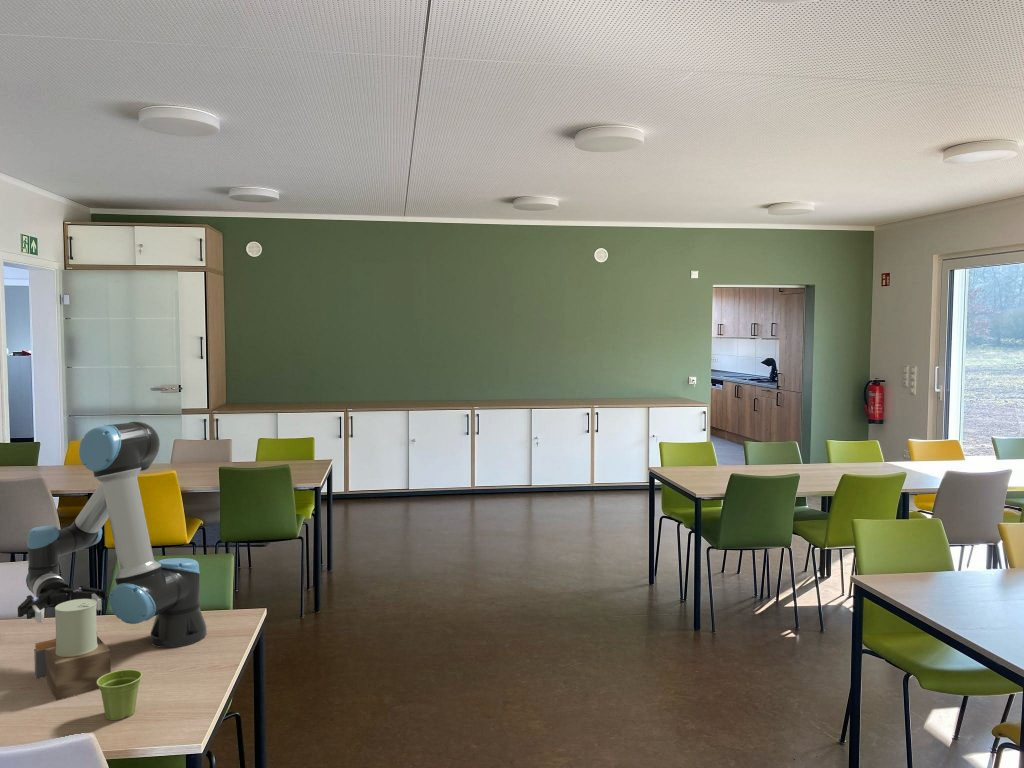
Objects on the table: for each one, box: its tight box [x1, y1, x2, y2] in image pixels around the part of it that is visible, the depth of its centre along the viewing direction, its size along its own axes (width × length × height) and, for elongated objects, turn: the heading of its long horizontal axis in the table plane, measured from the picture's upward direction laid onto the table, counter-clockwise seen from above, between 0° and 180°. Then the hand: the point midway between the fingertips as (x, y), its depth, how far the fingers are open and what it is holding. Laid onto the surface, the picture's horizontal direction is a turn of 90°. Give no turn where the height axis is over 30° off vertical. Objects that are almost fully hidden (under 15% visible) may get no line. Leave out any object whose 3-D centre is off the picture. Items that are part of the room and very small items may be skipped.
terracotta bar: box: [34, 638, 56, 651], centre depth 198 cm, size 14×2×2 cm, turn 132°
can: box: [54, 599, 98, 657], centre depth 188 cm, size 9×9×12 cm
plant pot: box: [97, 668, 143, 721], centre depth 174 cm, size 9×9×9 cm
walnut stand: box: [45, 636, 112, 701], centre depth 189 cm, size 12×12×9 cm
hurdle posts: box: [33, 635, 99, 679], centre depth 198 cm, size 14×2×7 cm, turn 132°
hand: (70, 611), depth 192 cm, fingers open, 13 cm apart
